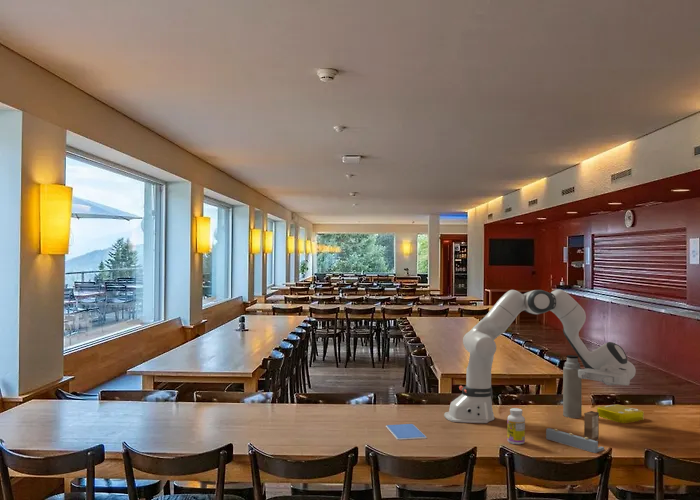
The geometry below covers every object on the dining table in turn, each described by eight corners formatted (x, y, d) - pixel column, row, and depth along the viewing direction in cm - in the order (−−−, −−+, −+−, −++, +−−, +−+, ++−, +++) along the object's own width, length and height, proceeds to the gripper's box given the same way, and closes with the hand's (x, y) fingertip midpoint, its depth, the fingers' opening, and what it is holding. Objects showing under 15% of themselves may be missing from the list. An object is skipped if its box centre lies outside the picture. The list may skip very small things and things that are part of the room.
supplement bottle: (504, 439, 226) (504, 407, 227) (520, 439, 227) (521, 407, 227) (510, 445, 220) (511, 411, 220) (527, 444, 220) (527, 411, 221)
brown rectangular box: (591, 442, 224) (591, 414, 224) (584, 440, 226) (584, 413, 226) (598, 440, 227) (598, 412, 227) (591, 438, 230) (591, 410, 230)
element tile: (617, 413, 272) (617, 402, 272) (645, 420, 258) (645, 410, 258) (595, 416, 265) (595, 405, 265) (622, 424, 252) (622, 413, 252)
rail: (595, 453, 211) (595, 440, 211) (546, 438, 228) (546, 427, 228) (604, 450, 215) (604, 437, 215) (555, 436, 232) (555, 424, 232)
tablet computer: (427, 440, 227) (427, 436, 227) (397, 441, 224) (397, 438, 224) (413, 426, 246) (413, 423, 246) (384, 427, 243) (384, 424, 243)
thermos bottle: (561, 413, 268) (561, 354, 269) (578, 414, 267) (578, 354, 268) (565, 418, 260) (565, 356, 261) (583, 418, 259) (583, 357, 260)
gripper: (587, 364, 255) (570, 367, 247) (632, 370, 238) (615, 374, 230) (588, 378, 255) (570, 381, 247) (633, 385, 238) (615, 390, 230)
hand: (592, 378), depth 238 cm, fingers open, 8 cm apart
